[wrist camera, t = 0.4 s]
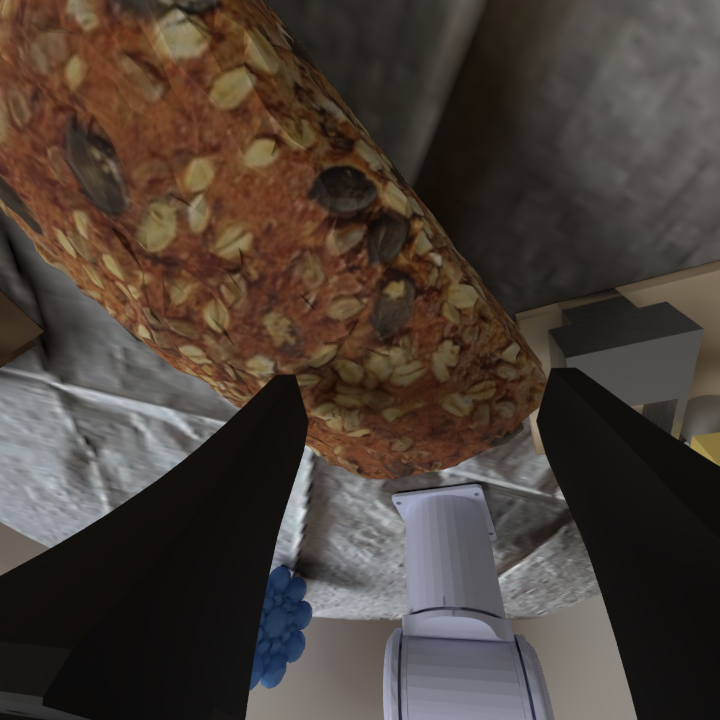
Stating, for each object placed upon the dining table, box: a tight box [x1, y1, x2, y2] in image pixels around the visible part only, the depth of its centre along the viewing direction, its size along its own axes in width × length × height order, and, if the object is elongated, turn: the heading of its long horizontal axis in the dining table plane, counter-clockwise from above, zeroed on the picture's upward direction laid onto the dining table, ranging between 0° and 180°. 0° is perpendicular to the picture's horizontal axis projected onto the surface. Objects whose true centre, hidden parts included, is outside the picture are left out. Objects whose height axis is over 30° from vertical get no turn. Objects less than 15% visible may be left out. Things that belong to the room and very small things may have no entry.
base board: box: [515, 261, 720, 455], centre depth 19 cm, size 12×17×1 cm
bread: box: [0, 0, 547, 480], centre depth 14 cm, size 19×11×10 cm, turn 43°
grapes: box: [249, 566, 312, 691], centre depth 39 cm, size 12×7×12 cm, turn 41°
